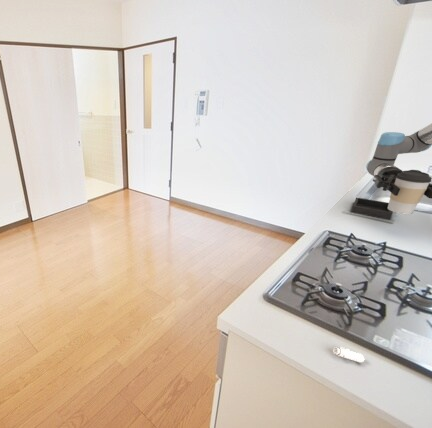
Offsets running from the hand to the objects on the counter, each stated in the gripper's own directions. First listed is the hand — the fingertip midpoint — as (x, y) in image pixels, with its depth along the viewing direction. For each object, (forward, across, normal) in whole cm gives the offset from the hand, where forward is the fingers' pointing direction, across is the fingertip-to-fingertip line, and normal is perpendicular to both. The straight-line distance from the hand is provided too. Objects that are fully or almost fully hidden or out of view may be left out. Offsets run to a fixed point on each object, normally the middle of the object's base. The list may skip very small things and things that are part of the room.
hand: (414, 193), depth 99 cm
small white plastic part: (+68, +30, -18) cm, 77 cm away
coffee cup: (-5, 0, -9) cm, 10 cm away
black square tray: (-26, 0, -18) cm, 31 cm away
